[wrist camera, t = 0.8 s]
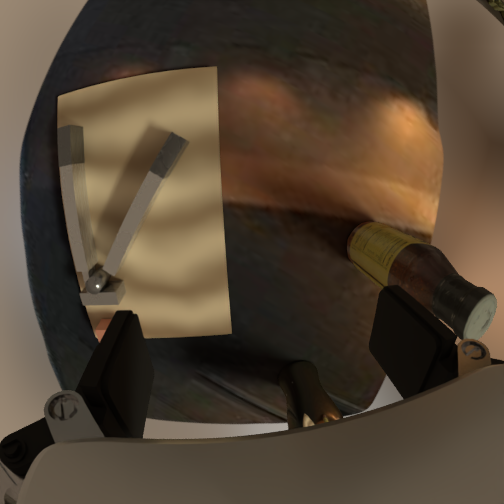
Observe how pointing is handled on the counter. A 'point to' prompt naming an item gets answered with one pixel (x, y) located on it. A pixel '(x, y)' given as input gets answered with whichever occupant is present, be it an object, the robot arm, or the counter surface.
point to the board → (167, 202)
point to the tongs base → (83, 221)
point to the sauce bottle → (421, 277)
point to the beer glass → (306, 396)
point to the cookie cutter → (497, 6)
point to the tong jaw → (144, 201)
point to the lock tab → (102, 328)
